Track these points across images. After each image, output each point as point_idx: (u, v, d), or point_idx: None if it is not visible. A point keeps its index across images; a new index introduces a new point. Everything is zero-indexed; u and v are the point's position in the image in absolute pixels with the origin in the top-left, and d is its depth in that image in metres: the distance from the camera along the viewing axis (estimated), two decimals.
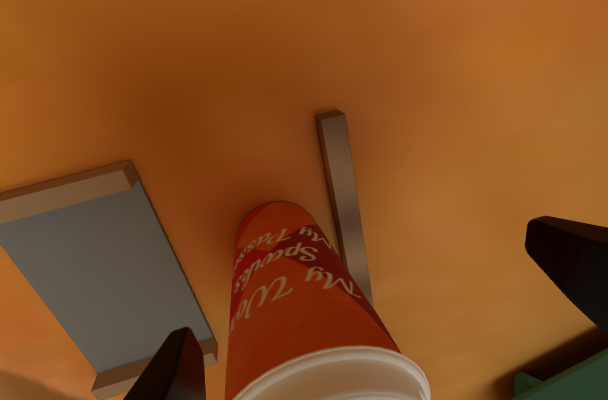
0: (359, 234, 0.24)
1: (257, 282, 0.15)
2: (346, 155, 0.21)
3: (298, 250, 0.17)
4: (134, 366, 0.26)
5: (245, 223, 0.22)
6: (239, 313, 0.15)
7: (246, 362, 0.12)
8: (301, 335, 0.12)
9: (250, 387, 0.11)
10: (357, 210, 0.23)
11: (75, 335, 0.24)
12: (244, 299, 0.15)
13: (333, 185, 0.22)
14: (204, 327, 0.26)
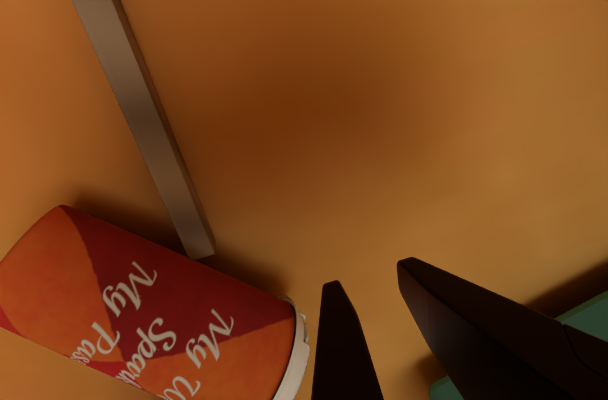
0: (163, 139, 0.17)
1: (154, 387, 0.16)
2: (105, 4, 0.14)
3: (151, 342, 0.15)
4: None
5: (1, 325, 0.15)
6: (163, 398, 0.17)
7: None
8: None
9: None
10: (149, 101, 0.16)
11: None
12: (157, 394, 0.17)
13: (98, 56, 0.15)
14: None
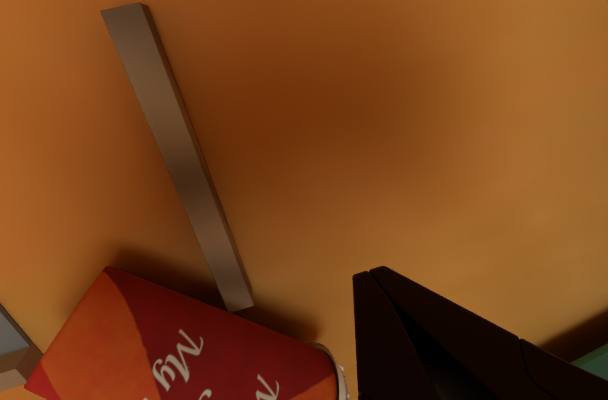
0: (209, 200, 0.17)
1: None
2: (158, 74, 0.14)
3: None
4: None
5: (50, 399, 0.14)
6: None
7: None
8: None
9: None
10: (197, 163, 0.16)
11: None
12: None
13: (149, 123, 0.15)
14: (12, 333, 0.19)
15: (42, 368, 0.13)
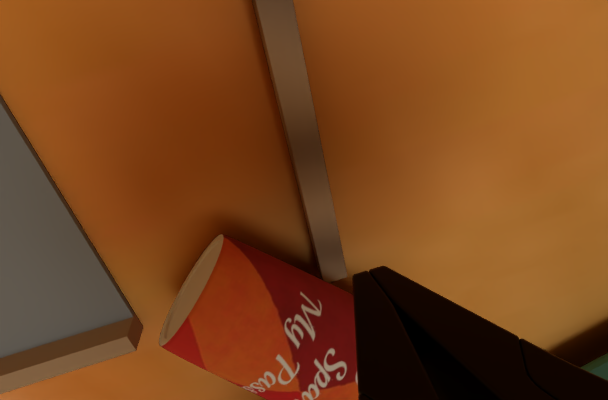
0: (322, 169, 0.17)
1: None
2: (294, 42, 0.15)
3: (326, 372, 0.16)
4: (24, 356, 0.19)
5: (187, 357, 0.15)
6: None
7: None
8: None
9: None
10: (316, 132, 0.16)
11: None
12: None
13: (278, 91, 0.15)
14: (119, 302, 0.19)
15: (189, 323, 0.14)
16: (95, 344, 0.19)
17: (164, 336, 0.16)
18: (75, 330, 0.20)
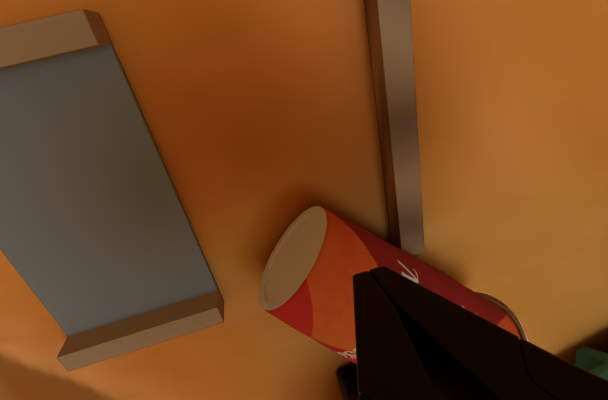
0: (414, 142, 0.18)
1: None
2: (404, 15, 0.15)
3: None
4: (115, 327, 0.20)
5: (297, 320, 0.16)
6: None
7: None
8: None
9: None
10: (413, 105, 0.17)
11: (34, 283, 0.18)
12: None
13: (384, 63, 0.16)
14: (206, 275, 0.20)
15: (306, 285, 0.15)
16: (186, 315, 0.19)
17: (268, 302, 0.17)
18: (163, 302, 0.20)
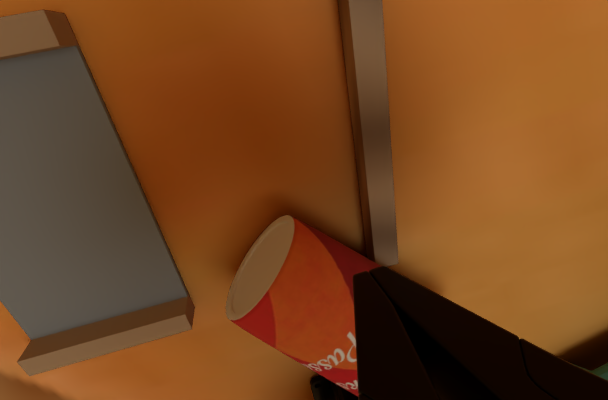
0: (387, 154, 0.18)
1: None
2: (377, 27, 0.15)
3: None
4: (80, 331, 0.19)
5: (260, 332, 0.15)
6: None
7: None
8: None
9: None
10: (387, 117, 0.17)
11: None
12: None
13: (356, 74, 0.16)
14: (176, 281, 0.20)
15: (269, 297, 0.14)
16: (153, 321, 0.19)
17: (233, 312, 0.16)
18: (131, 307, 0.20)
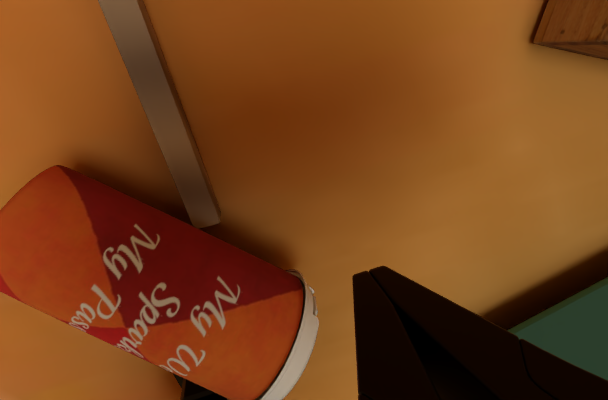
0: (167, 96, 0.16)
1: (157, 356, 0.15)
2: None
3: (154, 307, 0.15)
4: None
5: None
6: (166, 369, 0.17)
7: (222, 393, 0.17)
8: (249, 374, 0.16)
9: None
10: (153, 53, 0.15)
11: None
12: (160, 365, 0.16)
13: (100, 2, 0.14)
14: None
15: None
16: None
17: None
18: None
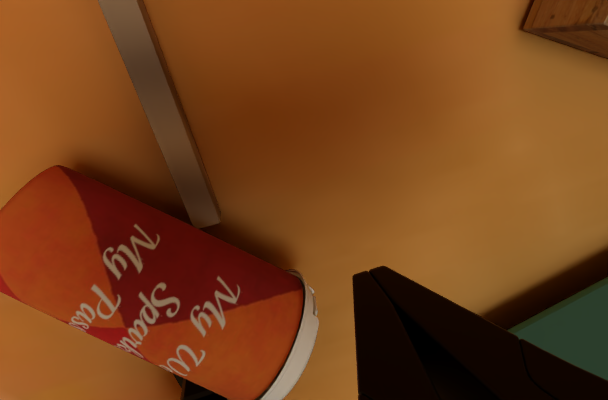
0: (167, 96, 0.16)
1: (157, 356, 0.15)
2: None
3: (153, 307, 0.15)
4: None
5: None
6: (166, 369, 0.17)
7: (222, 393, 0.17)
8: (249, 374, 0.16)
9: None
10: (153, 53, 0.15)
11: None
12: (160, 365, 0.16)
13: (99, 2, 0.14)
14: None
15: None
16: None
17: None
18: None
